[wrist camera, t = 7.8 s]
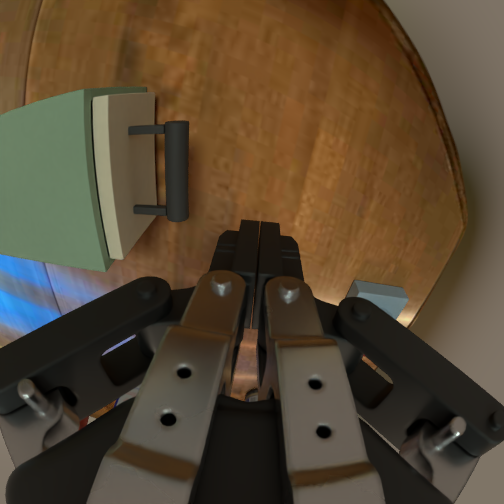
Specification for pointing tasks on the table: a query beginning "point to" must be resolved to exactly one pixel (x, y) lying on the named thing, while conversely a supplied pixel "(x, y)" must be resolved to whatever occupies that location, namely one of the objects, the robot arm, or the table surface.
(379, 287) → the control block
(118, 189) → the drawer
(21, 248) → the cabinet casing
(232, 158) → the table surface
